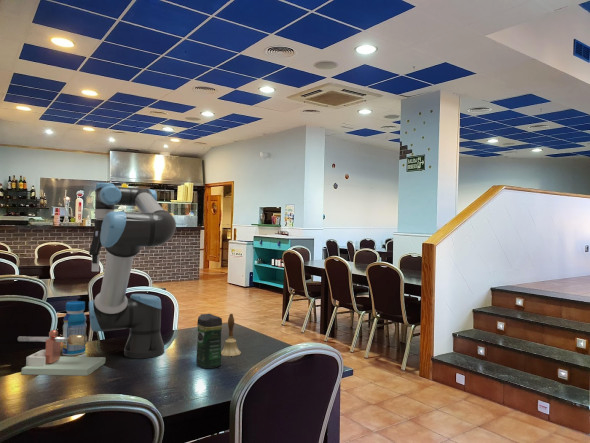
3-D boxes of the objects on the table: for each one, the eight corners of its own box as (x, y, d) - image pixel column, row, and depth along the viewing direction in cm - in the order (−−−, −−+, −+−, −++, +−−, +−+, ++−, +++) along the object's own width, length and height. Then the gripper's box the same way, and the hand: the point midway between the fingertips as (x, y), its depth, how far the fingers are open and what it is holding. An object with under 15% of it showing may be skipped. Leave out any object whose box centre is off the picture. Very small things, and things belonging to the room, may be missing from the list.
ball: (43, 347, 153) (38, 357, 153) (36, 350, 149) (31, 361, 149) (53, 351, 153) (48, 362, 153) (47, 355, 149) (42, 365, 149)
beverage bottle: (75, 357, 164) (77, 304, 165) (56, 355, 166) (58, 303, 166) (90, 351, 173) (92, 301, 173) (72, 349, 174) (73, 300, 175)
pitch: (105, 362, 159) (105, 349, 159) (87, 375, 145) (87, 360, 145) (45, 361, 158) (45, 347, 158) (21, 374, 144) (21, 359, 144)
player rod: (87, 359, 154) (88, 328, 154) (80, 363, 149) (81, 332, 149) (22, 358, 154) (23, 327, 154) (13, 362, 149) (14, 330, 149)
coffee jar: (224, 366, 157) (225, 315, 158) (204, 370, 153) (205, 317, 153) (212, 359, 165) (213, 311, 166) (193, 363, 160) (194, 313, 161)
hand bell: (216, 355, 172) (217, 314, 172) (227, 349, 179) (228, 311, 180) (234, 357, 169) (235, 316, 169) (244, 352, 176) (245, 313, 177)
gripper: (107, 220, 195) (106, 267, 194) (81, 218, 170) (79, 272, 170) (124, 220, 195) (122, 267, 195) (100, 219, 170) (98, 273, 170)
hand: (102, 269), depth 182 cm, fingers open, 13 cm apart
